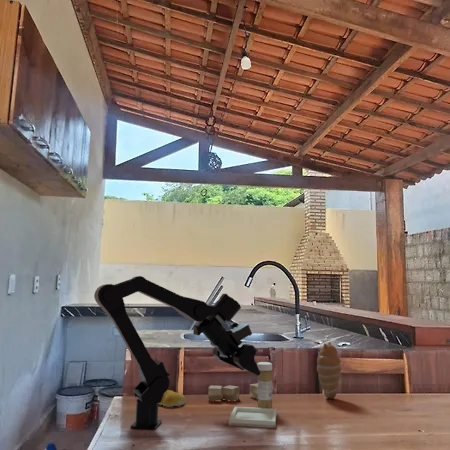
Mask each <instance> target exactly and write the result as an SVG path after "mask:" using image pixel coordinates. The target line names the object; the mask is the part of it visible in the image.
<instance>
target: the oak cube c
mask: <svg viewBox="0 0 450 450" xmlns="http://www.w3.org/2000/svg"><path fill="white" fill-rule="evenodd" d="M252 397H253V398H252ZM249 398H252V399H255V398H256V399H255V400H258V382H257V383H252V384H251V383H250V384H249Z"/></svg>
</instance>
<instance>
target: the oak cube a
mask: <svg viewBox="0 0 450 450" xmlns="http://www.w3.org/2000/svg"><path fill="white" fill-rule="evenodd" d="M222 387H223V385H209V386H208V390H207V391H208V394H207V395H208V396H207V397H208V398H207V399H209V400H221V399H222ZM221 401H222V400H221Z"/></svg>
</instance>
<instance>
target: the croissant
mask: <svg viewBox="0 0 450 450" xmlns="http://www.w3.org/2000/svg"><path fill="white" fill-rule="evenodd" d="M318 353H319V355H317V359H316V362H317V366H316V372H317V374H318V381H319V386H320V387H321V389H322V390H323V396H325V398H327V399H329V400H332V399H334V398H335V397H336V396H337V394H338V393H337V392H338V388H339V386H340V379H341V373H342V367H341V358H340V357H339V356H338V350H337V348H336V347H335V346H334V345H332V343H331V341H329V342H328V343H327V344H326V343H325V342H324V343H323V345H322V346H321V348H320V349H319V351H318Z"/></svg>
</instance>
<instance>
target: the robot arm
mask: <svg viewBox="0 0 450 450" xmlns="http://www.w3.org/2000/svg"><path fill="white" fill-rule="evenodd" d="M135 293H139V294H142V295H144V296H146V297H148V298H150V299H152V300H155V301H156V302H159V303H162V304H163V305H166V306H168V307H170V308H173V309H174V310H175V311H176V312H177V313H178V314H179V315H180V316H182V317H183V318H185V319H186V320H188V321H192V322H197V323H198V324H194V325H193V333H192V334H193V335H194V336H200V335H201V334H202V335H203V336H204V337H205V338H207V340H208V341H209V342H210V343H209V344H210V345H211V346H212V347H214V348H213V349H212V355H213V356H214V357H215V359H217V360H219V361H221V362H224V363H226V364H228V365H230V366H232V367H235V368H237V369H240V370H242V371H244V370H245V371H247V372H249V373H251V374H253V375H255V376H257V377H258V376H259V374H260V371H259V369H258V366H257V362H256V360H255V356H256V354H257V352H258V350H257V348H256V347H255V346H254V345H253V344H249V343H244V344H242V343H243V341H242V340H243V339H245V338H247V337H248V336H249V337H250V336H252V335H253V332H252V330H251V328H250V325H249V323H237V322H232V323H230V321H232V319H233V318H234V317H235V316H236V314H237V313H239V311H240V310H241V309H242V306H241V304H240V303H239V302H238V301H237V300H235V299H234V298H233V297H231V296H229V294H228V293H222V294H221V296H219V299H218V300H217V301H216V302H215V303H214V304H213V305H210V304H209V305H208V304H207V303H206V302H205V301H204V300H199V299H197V298H193V297H187V296H183V295H180V294H178V293H176V292H174V291H172V290H170V289H167V288H165V287H163V286H162V285H159V284H157V283H155V282H153V281H150V280H148V279H146V278H145V277H144V276H142V275H139V276H138V275H137V276H133V277H131V279H127V280H124V281H122V282H118V283H115V284H112V283H107V284H103V285H100V286H98V287H97V288H96V290H95V292H94V294H93V295H94V296H93V298H94V301H95V302H96V303H97V305H98V306H99V307H100V308H101V310H102V311H103V312H104V313H105V314H106V315H107V316H108V318H110V319H111V321H112V322H113V324H114V326H115V328H116V330H117V332H118V333H119V335H120V337H121V339H122V340H123V342H124V344H125V346H126V348H127V349H128V352H129V353H130V355H131V356H132V358H133V360H134V362H135V363H136V366H137V371H138V375H139V378H140V381H139V382H138V384H137V385H136V386H135V387H133V389H132V390H133V395H134V398H136V400H135V401H136V404H135V421H134V422H133V423H132V424H130V429H131V428H132V429H142V430H143V429H144V430H145V429H146V430H156V429H157V428H158V426H159V425H161V423H163V420H162V419H159V405H158V403H160V402H161V400H162V397H163V395H164V393H165V392H166V391H167V390H169V386H170V384H171V383H170V382H171V381H170V378H169V376H170V373H169V372H167V370H166V367H165V364H164V362H163V361H161V360H159V359H157V358H155V359H153V358H152V356H151V354H150V353H149V351H148V349H147V348H146V346H145V343H144V342H143V340H142V338H141V337H140V335H139V333H138V330H137V329H136V328H135V326H134V324H133V322H132V320H131V318H130V316H129V315H128V313H127V309H126V305H125V300H124V298H126V297H128V296H131V295H133V294H135ZM225 322H226V323H230V324H229V329H226V327H225V326H224V325H223V324H224V323H225ZM241 344H242V345H241Z"/></svg>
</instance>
